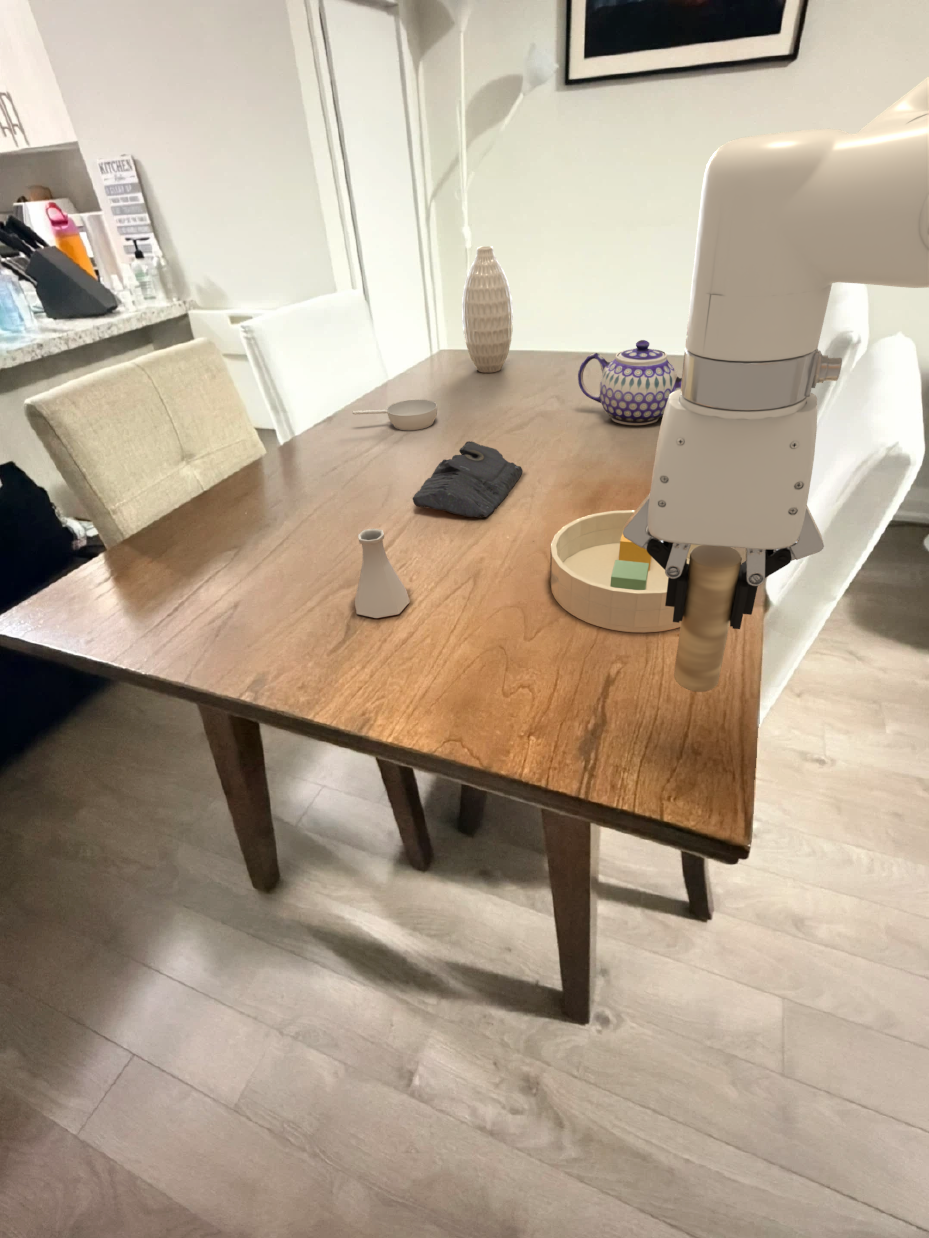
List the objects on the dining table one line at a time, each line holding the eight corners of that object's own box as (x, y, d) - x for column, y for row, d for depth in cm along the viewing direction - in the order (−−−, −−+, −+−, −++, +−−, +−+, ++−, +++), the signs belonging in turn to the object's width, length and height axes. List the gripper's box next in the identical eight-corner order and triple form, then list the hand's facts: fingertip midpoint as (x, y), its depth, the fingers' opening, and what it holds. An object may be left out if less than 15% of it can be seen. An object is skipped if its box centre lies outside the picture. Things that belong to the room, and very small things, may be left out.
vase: (523, 367, 170) (522, 244, 153) (492, 379, 162) (487, 251, 146) (486, 361, 177) (482, 243, 161) (455, 372, 170) (447, 250, 153)
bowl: (716, 553, 87) (722, 517, 84) (714, 643, 72) (722, 603, 68) (566, 539, 93) (567, 504, 90) (534, 620, 77) (534, 581, 74)
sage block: (645, 590, 80) (649, 562, 77) (642, 608, 77) (646, 580, 74) (613, 587, 81) (615, 559, 78) (608, 604, 78) (611, 576, 75)
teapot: (564, 423, 133) (566, 346, 124) (590, 400, 143) (593, 328, 135) (688, 437, 122) (700, 354, 113) (706, 411, 133) (718, 334, 124)
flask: (414, 588, 85) (405, 520, 79) (405, 620, 79) (394, 549, 73) (361, 588, 86) (348, 520, 80) (348, 619, 80) (333, 549, 74)
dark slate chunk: (397, 513, 103) (393, 486, 101) (447, 461, 120) (445, 436, 117) (487, 523, 99) (486, 495, 96) (527, 468, 115) (526, 442, 112)
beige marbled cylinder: (718, 667, 55) (741, 545, 49) (718, 695, 53) (742, 570, 46) (675, 662, 57) (691, 542, 50) (672, 688, 54) (689, 565, 47)
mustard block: (652, 556, 86) (655, 529, 84) (649, 571, 83) (652, 544, 81) (621, 553, 87) (623, 526, 85) (617, 567, 84) (620, 541, 82)
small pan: (440, 429, 135) (439, 410, 132) (354, 438, 134) (351, 420, 131) (436, 413, 143) (434, 395, 141) (355, 421, 142) (352, 404, 140)
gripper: (884, 360, 41) (817, 600, 51) (617, 362, 46) (606, 580, 56) (910, 397, 35) (828, 659, 46) (601, 395, 40) (593, 631, 51)
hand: (706, 613), depth 51 cm, fingers closed on beige marbled cylinder, 3 cm apart
